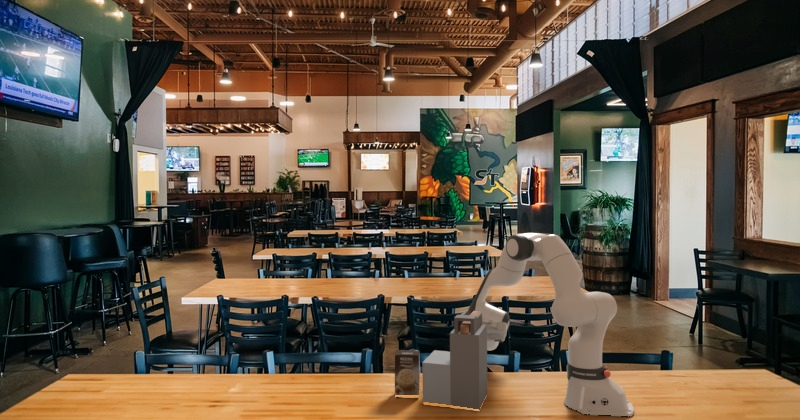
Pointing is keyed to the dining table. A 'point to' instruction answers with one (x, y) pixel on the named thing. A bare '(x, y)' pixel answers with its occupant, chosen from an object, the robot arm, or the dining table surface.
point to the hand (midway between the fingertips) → (478, 321)
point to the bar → (467, 324)
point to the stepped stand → (459, 367)
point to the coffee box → (407, 372)
